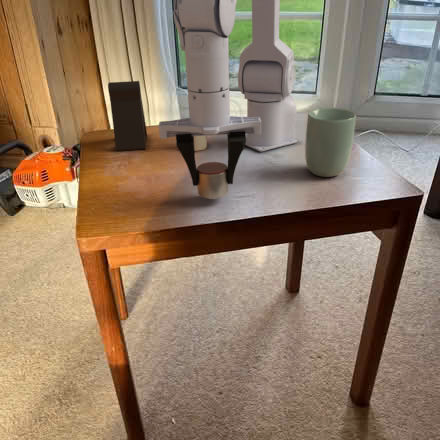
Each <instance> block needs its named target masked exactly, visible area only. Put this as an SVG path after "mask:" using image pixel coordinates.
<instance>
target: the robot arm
mask: <svg viewBox="0 0 440 440" xmlns="http://www.w3.org/2000/svg"><path fill="white" fill-rule="evenodd" d="M173 2H174V3H173V11H172V13H173V20H174V25H175V27H176V30H177V33H178V36H179V46H180V49H181V51H182V52H184V57H185V71H186V87H187V101H188V118H180V119H179V118H178V119H173V120H164V121H163V120H162V121H159V122H158V133H159V139H160V140H166V139H168V138H175V141H176V142H175V145H176V147H177V150H178V152H179V154H180V155H181V156H182V158H183V160H184V162H185V164H186V166H187V169H188V172H189V174H190V177H191V181H192V186H193V187H197V186H198V182H197V172H196V169H197V163H196V154H195V152H196V151H195V150H194V136H206V137H207V136H226V137H227V138H226V139H227V167H228V185H233V184H234V177H235V172H236V169H237V165H238V162H239V159H240V157H241V155H242V152H243V151H244V149H245V147H249V148H251V149H252V150H255V151H257V152H259V153H263V152H266V151H270V150H274V149H278V148H282V147H286V146H289V145H293V144H297V142H298V140H297V139H296V138H295V137H296V123H297V122H296V121H297V105H296V101H295V100H294V98H293V96H291V94H292V92H293V89H294V86H295V78H296V77H295V76H296V68H295V54H294V50H292V48H291V47H289V46H288V45H287V44H286V43H285V42H284V41H282V40H281V39H280V12H281V11H280V7H281V5H280V4H281V1H280V0H251V38H252V39H251V40H252V41H251V43H249V44H248V45H247V46H246V47H244V49H243V50H242V51H241V53H240V54H239V63H238V64H239V66H238V72H237V85H238V89H239V92H240V93H241V94H242V95H243V97H244V98H243V99H244V100H246V101H247V102H246V116H235V115H234V116H233V115H231V114H230V112H231V111H230V110H231V109H230V108H231V107H230V106H231V105H230V61H229V60H230V55H229V54H230V53H229V49H230V47H229V36H230V35H231V33H232V32H233V29H234V26H235V21H236V8H237V7H236V6H237V2H238V0H174V1H173Z"/></svg>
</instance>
